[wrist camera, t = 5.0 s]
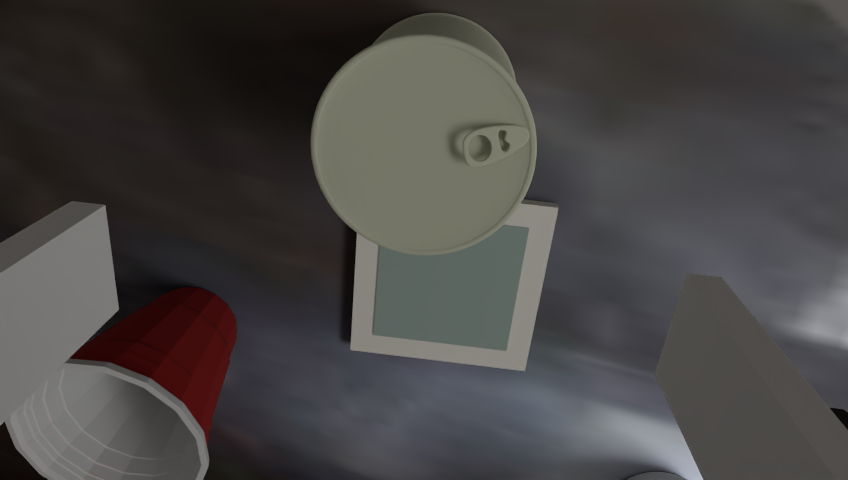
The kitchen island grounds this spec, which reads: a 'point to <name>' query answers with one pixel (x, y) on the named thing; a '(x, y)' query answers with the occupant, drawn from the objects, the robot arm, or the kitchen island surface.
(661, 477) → the mug
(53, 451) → the plastic cup
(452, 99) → the can
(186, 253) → the kitchen island surface
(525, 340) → the square picture frame
